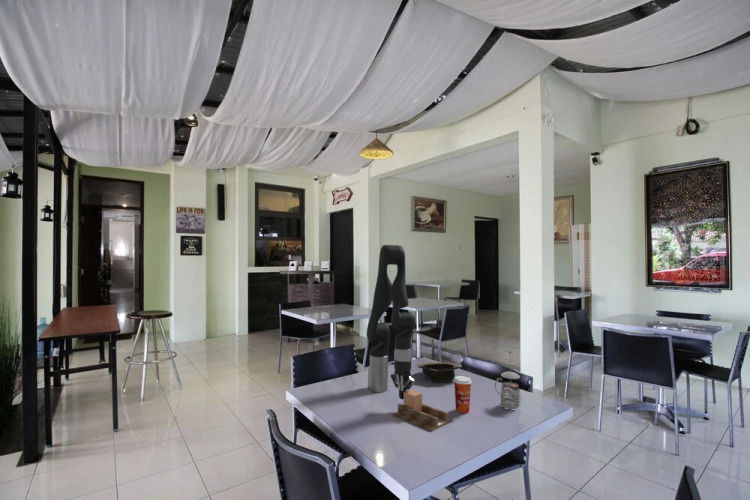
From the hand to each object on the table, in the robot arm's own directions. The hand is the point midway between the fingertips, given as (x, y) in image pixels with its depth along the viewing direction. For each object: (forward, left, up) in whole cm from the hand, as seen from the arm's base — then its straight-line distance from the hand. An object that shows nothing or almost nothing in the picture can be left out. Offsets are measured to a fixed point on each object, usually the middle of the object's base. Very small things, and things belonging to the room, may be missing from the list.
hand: (402, 398), depth 163 cm
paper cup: (+18, +19, -5) cm, 27 cm away
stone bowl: (-17, +49, -6) cm, 52 cm away
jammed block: (+6, 0, -4) cm, 7 cm away
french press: (+29, +39, -5) cm, 49 cm away
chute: (+11, 0, -5) cm, 12 cm away
